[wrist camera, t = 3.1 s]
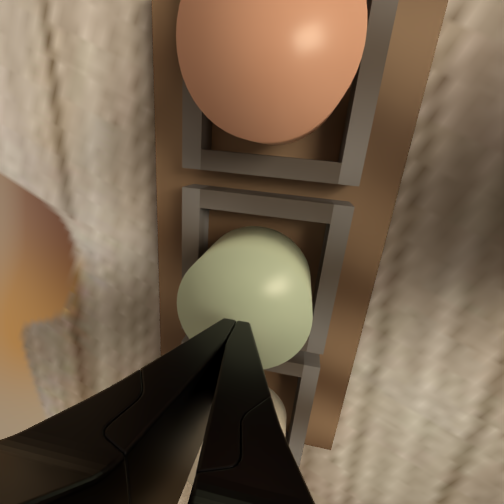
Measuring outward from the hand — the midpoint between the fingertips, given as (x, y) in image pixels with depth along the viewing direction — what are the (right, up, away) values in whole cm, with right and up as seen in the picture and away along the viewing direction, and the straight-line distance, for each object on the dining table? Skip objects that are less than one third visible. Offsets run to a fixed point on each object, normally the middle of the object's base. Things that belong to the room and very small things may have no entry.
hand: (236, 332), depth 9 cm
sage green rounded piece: (+1, +1, +4) cm, 4 cm away
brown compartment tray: (+1, +2, +6) cm, 7 cm away
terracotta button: (+1, +9, +1) cm, 9 cm away
